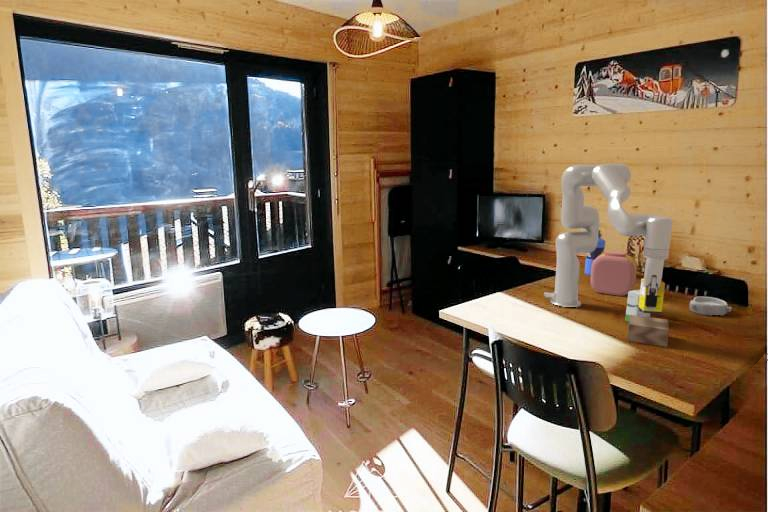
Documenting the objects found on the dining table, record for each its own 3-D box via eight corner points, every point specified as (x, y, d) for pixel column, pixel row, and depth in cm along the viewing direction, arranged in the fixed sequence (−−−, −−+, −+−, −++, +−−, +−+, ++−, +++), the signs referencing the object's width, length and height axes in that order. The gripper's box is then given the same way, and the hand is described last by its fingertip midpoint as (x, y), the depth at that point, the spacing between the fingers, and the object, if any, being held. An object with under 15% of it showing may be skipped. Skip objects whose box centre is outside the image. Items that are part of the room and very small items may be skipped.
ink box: (635, 324, 185) (639, 294, 183) (624, 320, 190) (627, 291, 187) (650, 321, 189) (653, 291, 187) (638, 317, 194) (641, 288, 191)
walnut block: (627, 340, 168) (628, 324, 167) (628, 330, 179) (629, 314, 177) (667, 346, 163) (669, 329, 162) (665, 335, 173) (667, 319, 172)
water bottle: (586, 275, 264) (590, 230, 260) (582, 272, 274) (586, 228, 269) (604, 276, 263) (608, 230, 258) (599, 272, 272) (603, 228, 267)
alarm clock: (634, 293, 230) (638, 252, 226) (632, 298, 221) (636, 256, 217) (592, 287, 240) (596, 249, 236) (588, 292, 230) (592, 252, 227)
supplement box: (662, 314, 165) (665, 283, 163) (643, 313, 166) (646, 282, 164) (656, 309, 171) (659, 279, 169) (637, 308, 172) (640, 278, 170)
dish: (689, 314, 198) (691, 302, 197) (685, 305, 210) (687, 294, 210) (732, 319, 192) (734, 307, 191) (725, 309, 204) (727, 298, 203)
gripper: (643, 248, 174) (638, 296, 177) (643, 256, 159) (638, 308, 162) (667, 250, 171) (662, 299, 174) (670, 258, 156) (664, 312, 159)
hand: (650, 303), depth 168 cm, fingers closed on supplement box, 7 cm apart
